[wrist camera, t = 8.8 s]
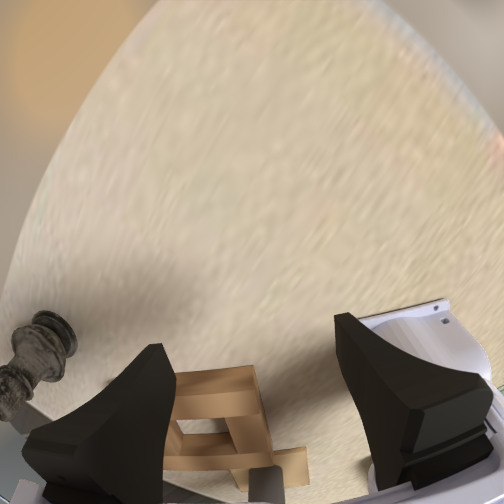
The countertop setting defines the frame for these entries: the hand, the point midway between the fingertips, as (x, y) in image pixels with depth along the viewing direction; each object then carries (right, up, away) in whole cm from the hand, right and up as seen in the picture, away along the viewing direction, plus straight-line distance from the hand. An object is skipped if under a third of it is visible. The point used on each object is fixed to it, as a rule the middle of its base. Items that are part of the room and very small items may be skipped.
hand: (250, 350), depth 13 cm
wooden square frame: (-5, -12, +16) cm, 20 cm away
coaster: (+2, -22, +19) cm, 30 cm away
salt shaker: (-18, -4, +13) cm, 23 cm away
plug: (+2, -22, +19) cm, 29 cm away
